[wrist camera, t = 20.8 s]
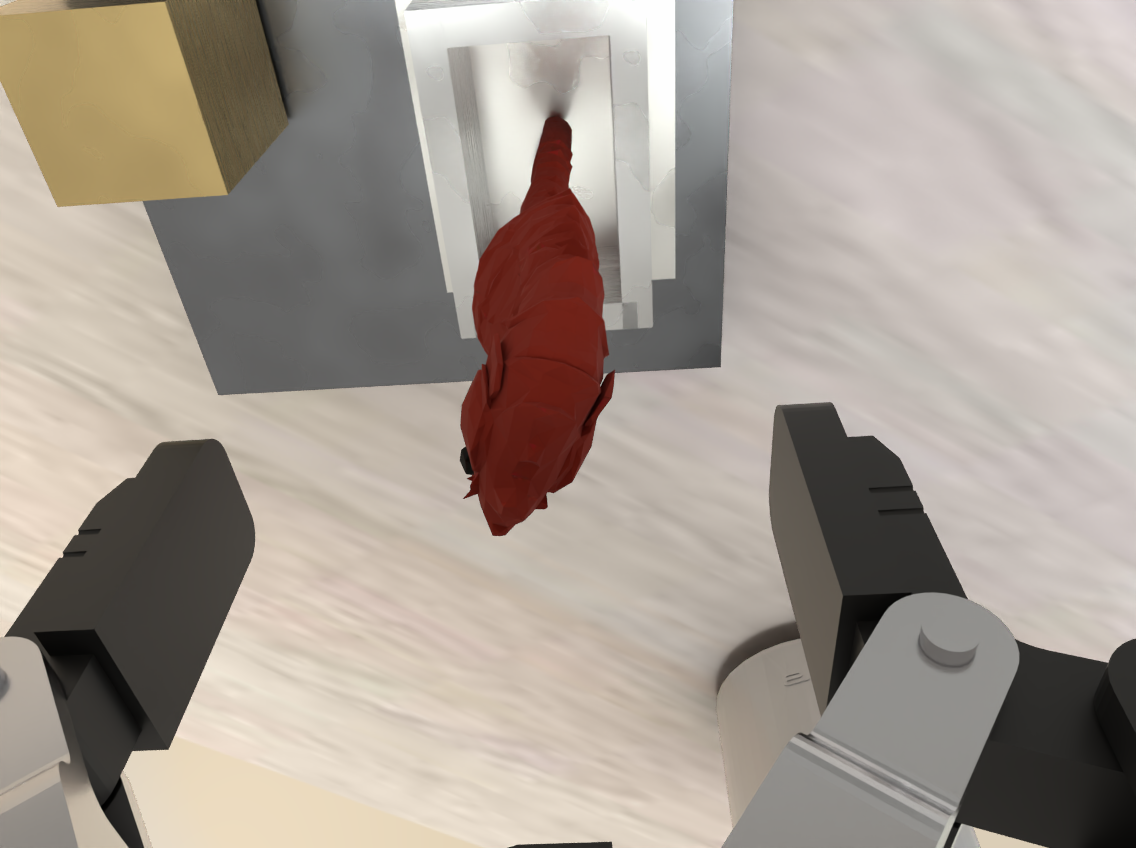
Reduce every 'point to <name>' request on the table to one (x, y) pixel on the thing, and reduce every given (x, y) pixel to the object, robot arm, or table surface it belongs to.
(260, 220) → the press frame
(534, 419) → the toy
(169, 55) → the slider
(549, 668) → the table surface
